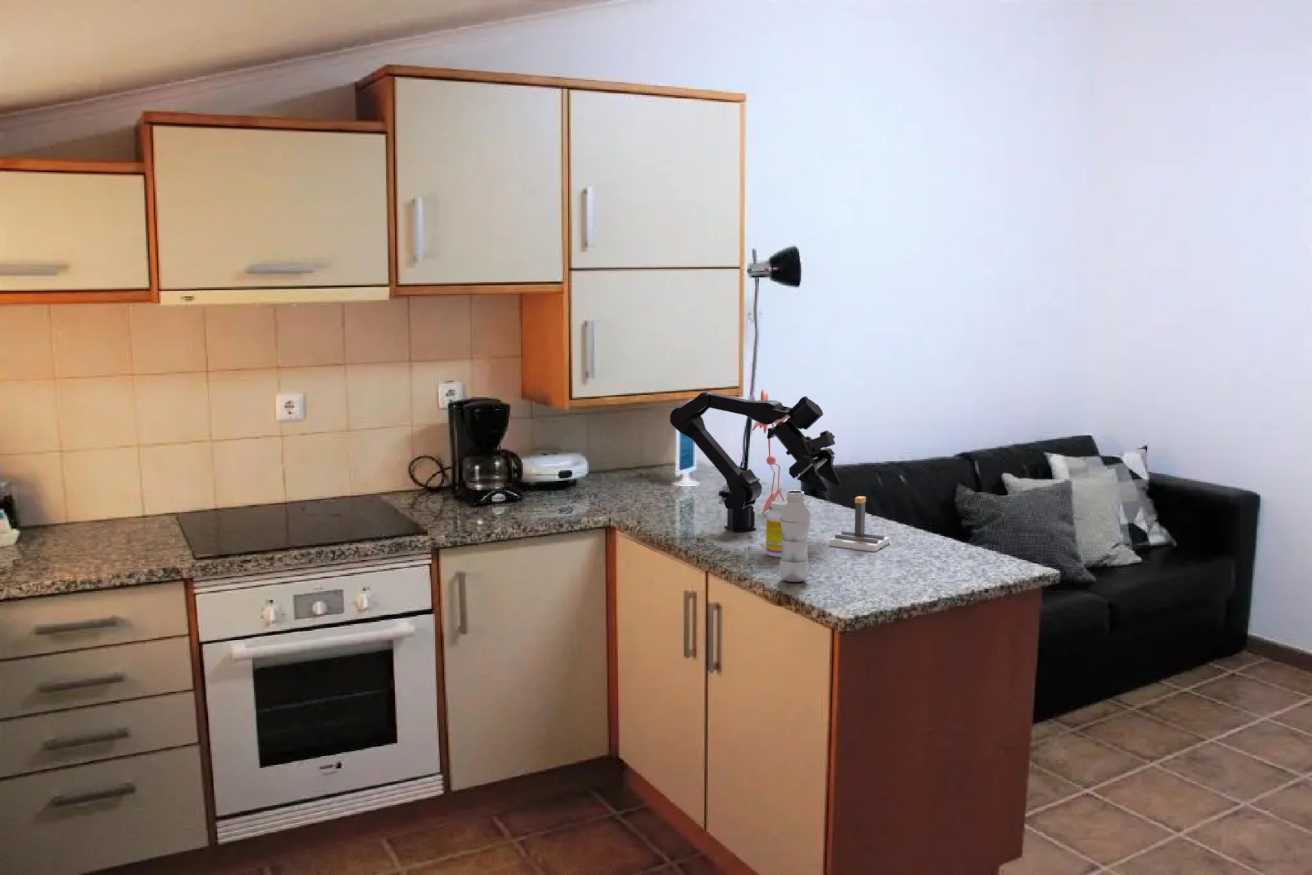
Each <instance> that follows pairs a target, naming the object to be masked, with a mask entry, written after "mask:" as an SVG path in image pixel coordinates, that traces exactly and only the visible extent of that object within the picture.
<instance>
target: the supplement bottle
mask: <svg viewBox="0 0 1312 875" xmlns="http://www.w3.org/2000/svg"><path fill="white" fill-rule="evenodd" d="M787 503H788V501H787V500H785V501H783V500H775V501H772V502H771V505H770V508H771V511H769V512H768V513H767V514H766V531H765V532H766V533H765V534H766V536H765V537H766V538H765V539H766V540H765V547H766V548H765V552H766V554H767V555H768V556H770V557H773V556H774V558H775V557H776V558H781V554H782V541H783V539H782V527H781V519H780V515H781V512H782V510H783V508H784V507H785V506H786V504H787Z"/></svg>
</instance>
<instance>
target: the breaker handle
mask: <svg viewBox="0 0 1312 875" xmlns="http://www.w3.org/2000/svg"><path fill="white" fill-rule="evenodd" d="M866 502H867V496H863V495H862V496H861V495H859V496H856V497H855V498H854V503H855V505H854V508H855V509H854V532H855V536H857V537H864V536H865V530H866V528H865V527H866Z"/></svg>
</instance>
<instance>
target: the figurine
mask: <svg viewBox="0 0 1312 875" xmlns="http://www.w3.org/2000/svg"><path fill="white" fill-rule="evenodd" d="M761 400H769V393H768V392H765V390H764V389H763V388H762V389H761V392H760V399H758V400H757V401H761ZM789 418H790V417H786V418H783V419H782V420H780V421H779V422H781V421H782V422H785V421H786V420H787V419H789ZM779 422H776V423H772V424H771V428H774V427H775V426H776V425H777V424H778V423H779ZM774 424H775V425H774ZM758 426H759V427H758ZM757 428H759V429H762V428H763V434H766V433H767V432H768V425H765V424H762V423H760V422H757V421H755V423H754V425H753V427H752V430H751V431H752V432H753V431H755V430H756V429H757ZM767 441H768V442H767V444H768V445H767V446H768V456H767V457H766V463H767V465H769V466H770V469H771V470H772V472H773V477H772V485H771V493H770V496H769V497H768V498H767V499H766V501H765V503H764V506H763V510H762V515H764V514H765V513H766V512H767V511H768V510H769V509H770V508H771V502H772V501H776V498H777V497H778V496H780V498H781V501H786V500H785V498H784V496H783V493H782V492H781V490H782V487H780V474H781V473H780V472H781V470H780V469H781V466H780V465H779V464H777V463H776V462H777V461H776V457H775V456H773V455H771V438H770V439H767ZM773 465H776V466H777V467H778V471H777V472H778V473H777V474H778V476H777V489H776V491H775V492H774V483H775V477H776V472H775V470H774V468H773Z"/></svg>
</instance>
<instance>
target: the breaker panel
mask: <svg viewBox="0 0 1312 875" xmlns="http://www.w3.org/2000/svg"><path fill="white" fill-rule="evenodd" d="M828 541H829V544H828V546H830V547H837V548H844V549H846V548H847V549H851V548H852V549H851V550H858V551H860V550H861V551H867V552H877V551H878V550H880V548H881V549H883V548H884V547H886V546H887V545H889V544H890V537H888V536H885V535H881V534H875V533H874V534H873V533H867V532H866V533H865V536H864V537H857V536H855V531H848V530H842V531H841V533H840V534H839V533H836V534H834V536H833V537H832V538H829V540H828ZM888 543H889V544H888ZM885 545H886V546H885Z"/></svg>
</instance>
